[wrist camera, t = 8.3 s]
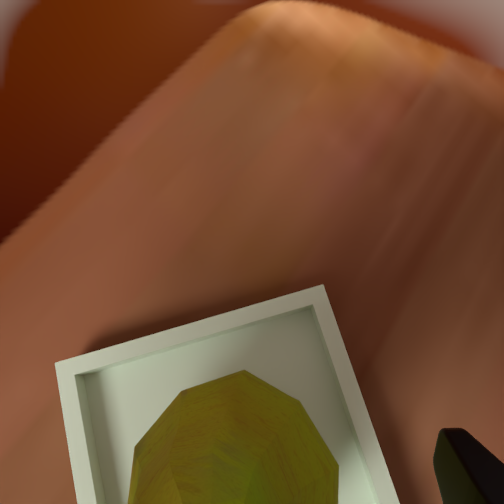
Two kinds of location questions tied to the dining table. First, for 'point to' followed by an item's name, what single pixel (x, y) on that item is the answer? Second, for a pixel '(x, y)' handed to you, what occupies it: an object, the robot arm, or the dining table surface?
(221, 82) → the dining table surface
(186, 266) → the dining table surface
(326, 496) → the fruit
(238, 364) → the tray
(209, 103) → the dining table surface
